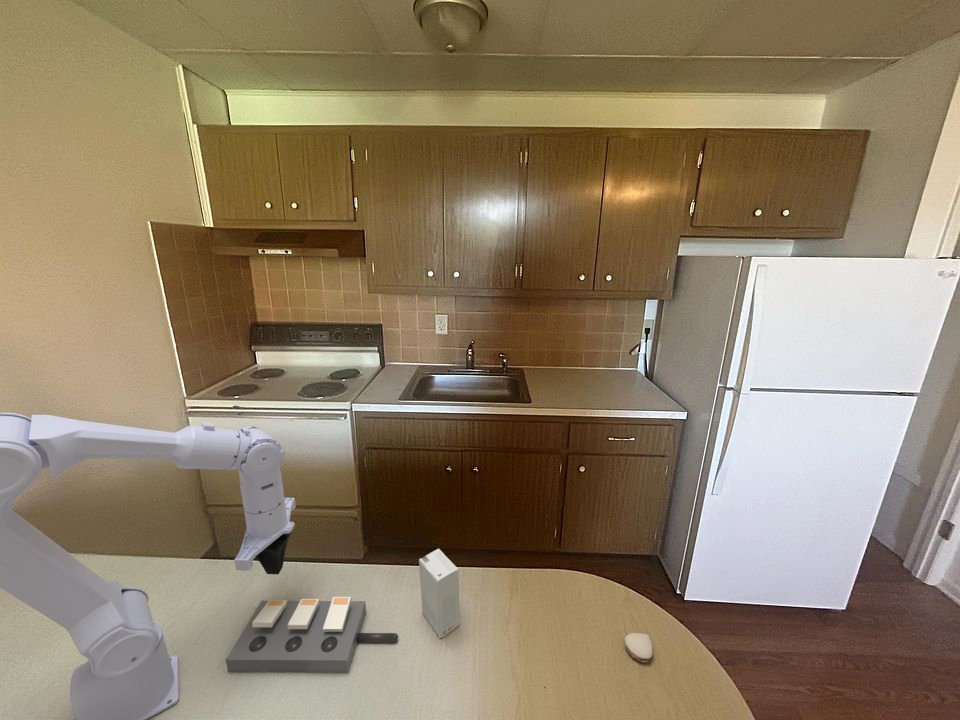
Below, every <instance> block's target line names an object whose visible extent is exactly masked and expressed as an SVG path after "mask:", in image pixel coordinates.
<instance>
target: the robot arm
mask: <svg viewBox="0 0 960 720" xmlns="http://www.w3.org/2000/svg"><path fill="white" fill-rule="evenodd" d="M285 455H286V452H285V450H283V448H282V445H281V444H280V442H278V441H277V440H276V439H275V438H274V437H273V436H272V435H271V434H270V433H269V432H267V431H266V430H264V429H262V428H260V427H257V426H255V425H250V426H247V427H241V428H240V429H231V428H230V429H229V428H222V427H215V425H214V424H213V422H206V421H202V422H201V425H192V424H191V425H187V426H185V427H184V428H182V429H179V430H178V431H176V432H172V431H163V430H155V429H149V428H148V429H147V428H143V427H142V428H140V427H134V426H126V425H117V424H109V423H104V422H103V423H102V422H96V421H88V420H87V421H86V420H80V419H74V418H68V417H61V416H56V415H51V414H32V415H31V417H29V416H27V415H24V414H20V413H14V412H0V589H2V590H4V592H6V593H8V594H9V595H11V596H13V597H14V598H16V599H18V600H19V601H20V602H23V603H24V604H25V605H27V606H29V607H30V608H32V609H34V610H35V611H36V612H39V613H40V614H41V615H43V616H45V617H46V618H48V619H49V620H51V621H53V622H54V623H56V624H57V625H59V626H61V627H62V628H63V629H65V630H67V632H68V634H69V635H70V637H71V640H72V641H73V643H74V645H75V647H76V648H77V650H78V652H79V654H80V655H81V656H83V657H84V658H86V659H87V661H86V662H84V663H83V664H80V665H79V666H77V667H76V668H75V669H74V670H73V671H72V674H71V678H70V685H69V698H70V700H69V701H70V705H71V706H70V707H71V710H72V713H73V717H74V719H75V720H148V719H150V718H153V717H154V716H155V715H157V714H159V713H161V712H163V711H165V710H166V709H169V708H170V707H172V706H174V705H176V704H177V703H178V702H179V699H180V697H179V696H180V695H179V693H180V691H179V689H180V688H179V686H180V685H179V683H180V682H179V656H178V655H177V654H175V655H173V656H170V655H169V652H168V651H169V650H168V648H167V644H166V640H165V637H164V632H163V629H162V627H161V625H160V624H159V623H156V622H155V621H154V619H153V616H152V613H151V609H150V605H149V599H150V598H149V595H148V593H147V591H146V590H144V589H143V588H141V587H137V586H128V585H125V584H123V583H121V582H120V581H118V580H115V579H114V580H112V581H106V580H105V579H104V578H103V577H101V576H100V575H99V574H97V573H96V572H94V571H93V569H91V568H90V567H88V566H87V565H85V564H84V563H83V562H81V561H80V560H79V559H78V558H76V557H75V556H74V555H72V554H71V553H69V552H68V551H67V550H65V549H64V548H63V547H61V546H60V545H59V544H57V543H56V542H55V541H54V540H53V539H51V538H50V537H49V536H47V535H46V534H44V533H43V532H42V531H41V530H39V529H38V528H37V527H35V526H34V525H33V524H31V523H30V522H29V521H27V520H26V519H25V518H24V517H22V516H21V515H20V514H19V513H17V512H15V511H14V510H13V507H14V505H15V503H16V500H17V499H18V498H19V497H20V496H21V495H22V494H23V493H24V492H25V491H27V489H29V488H30V486H32V484H34V483H35V481H36V480H37V479H38V478H39V476H40V474H41V472H42V469H46V468H48V471H49V472H48V473H49V478H53V477H56V476H58V475H60V474H61V473H63V472H66V471H67V470H68V469H70V468H72V467H74V466H76V465H77V464H79V463H81V462H82V461H85V460H88V459H89V460H90V459H147V460H148V459H154V460H155V459H164V460H165V459H169V460H171V461H172V463H173V464H174V465H175V466H176V467H177V468H178V469H184V470H185V469H186V470H187V469H188V470H189V469H190V470H191V469H193V470H217V471H218V470H223V471H234V470H238V476H239V487H240V488H239V489H240V494H241V498H242V499H241V501H242V506H243V507H242V508H243V513H244V518H245V519H244V520H245V524H246V530H245V533H244V537H243V540H242V542H241V545H240V546H241V547H240V549H239V552H238V553H237V555H236V556H235V558H234V565H235V570H236V571H251V569H252V568H253V567H254V563H253V561H254V559H255V558H256V559H257V561H258V562H259V563H260V564H261V566H262V567H263V569H264V571H265V573H266V575H279V574H280V572H281V571H282V570H283V567H284V561H285V554H286V549H287V546H288V542H289V539H290V536H291V534H292V532H293V530H294V528H295V522H294V521H290V520H291V514H292V511H294V510H295V508H296V500H295V497H285V492H284V485H283V477H282V472H281V465H282V464H283V463H284V460H285Z"/></svg>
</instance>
